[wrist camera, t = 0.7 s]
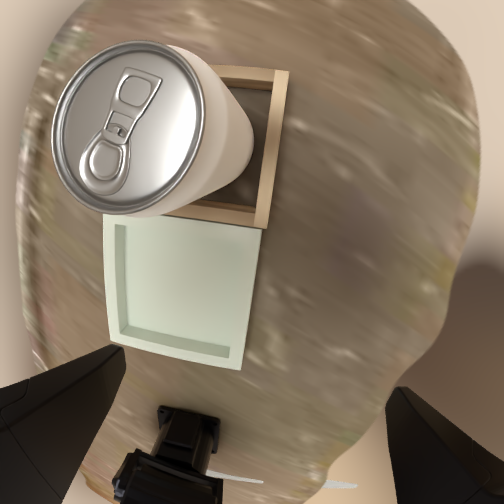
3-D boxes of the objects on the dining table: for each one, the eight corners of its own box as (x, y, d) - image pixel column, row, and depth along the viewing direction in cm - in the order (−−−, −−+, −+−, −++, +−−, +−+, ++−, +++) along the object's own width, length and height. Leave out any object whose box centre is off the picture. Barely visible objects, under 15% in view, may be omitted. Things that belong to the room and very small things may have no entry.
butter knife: (164, 455, 30) (164, 466, 30) (363, 480, 30) (354, 490, 30) (165, 452, 30) (165, 463, 31) (362, 477, 30) (353, 487, 31)
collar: (268, 220, 20) (266, 228, 18) (137, 203, 21) (120, 208, 18) (287, 82, 17) (289, 71, 15) (152, 75, 18) (137, 66, 15)
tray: (243, 354, 24) (240, 370, 22) (121, 328, 24) (110, 340, 22) (263, 222, 20) (261, 229, 18) (117, 203, 21) (103, 208, 19)
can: (148, 165, 20) (24, 182, 8) (187, 83, 18) (91, 16, 6) (227, 205, 20) (163, 266, 9) (272, 120, 18) (263, 63, 7)
